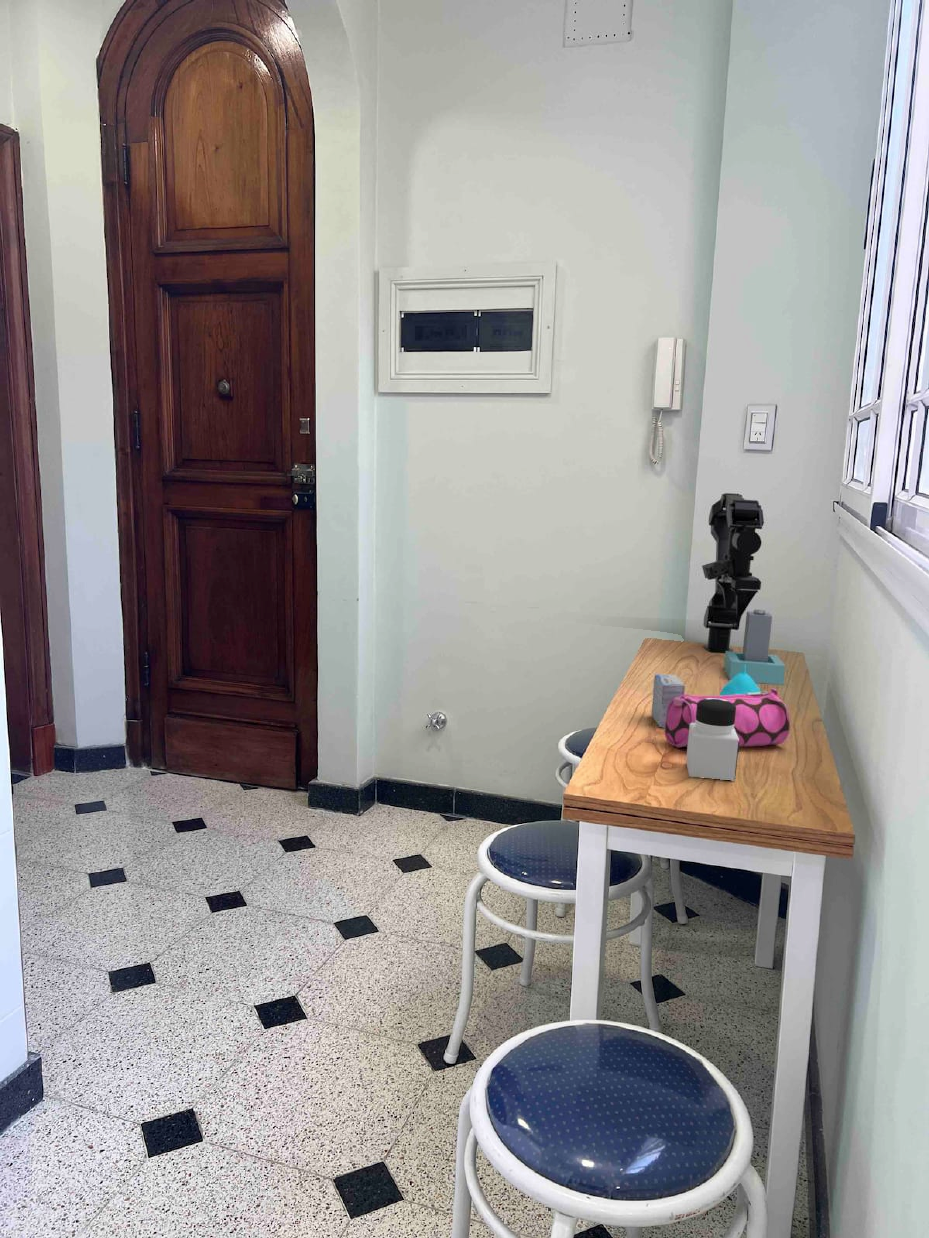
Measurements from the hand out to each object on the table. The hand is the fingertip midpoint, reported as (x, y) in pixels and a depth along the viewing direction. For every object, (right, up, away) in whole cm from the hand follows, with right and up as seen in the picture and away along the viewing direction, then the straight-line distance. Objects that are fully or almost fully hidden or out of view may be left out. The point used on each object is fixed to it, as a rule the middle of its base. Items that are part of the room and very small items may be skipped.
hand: (733, 612), depth 221 cm
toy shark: (-13, -21, -45) cm, 51 cm away
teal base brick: (+1, -15, -10) cm, 18 cm away
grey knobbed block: (+2, -12, -11) cm, 17 cm away
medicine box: (-29, -22, -51) cm, 62 cm away
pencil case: (-21, -24, -63) cm, 70 cm away
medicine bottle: (-28, -27, -77) cm, 86 cm away
